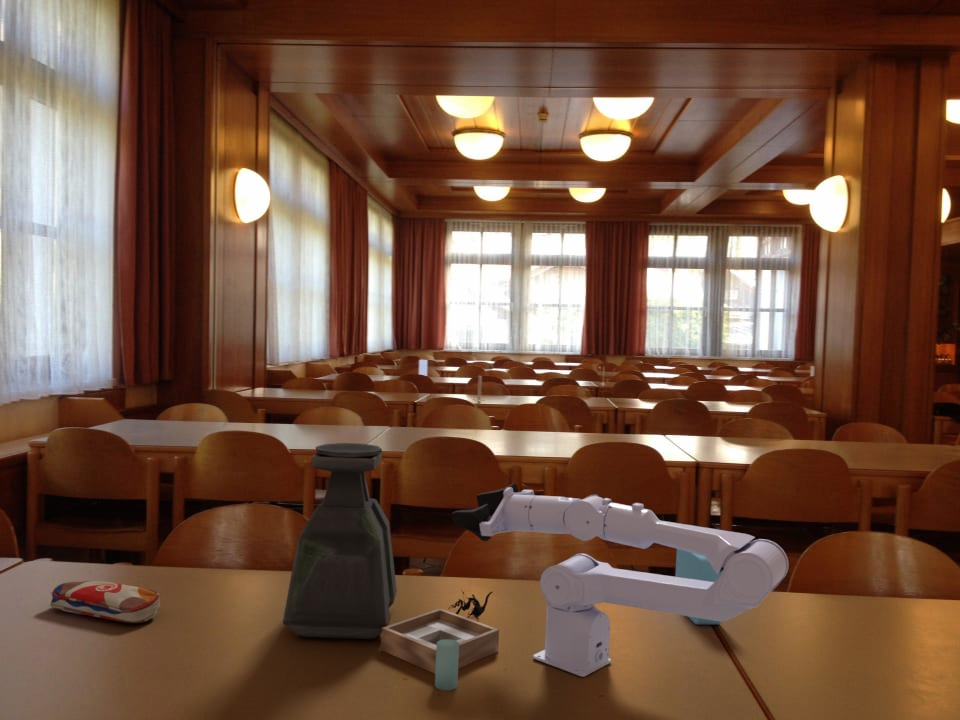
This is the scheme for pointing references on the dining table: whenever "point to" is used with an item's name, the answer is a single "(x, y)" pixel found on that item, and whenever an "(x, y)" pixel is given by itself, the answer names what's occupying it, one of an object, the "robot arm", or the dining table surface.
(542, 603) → the dining table surface
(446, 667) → the peg
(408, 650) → the box
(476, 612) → the creature
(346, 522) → the dark faceted flask
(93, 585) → the pencil case
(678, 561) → the data package
